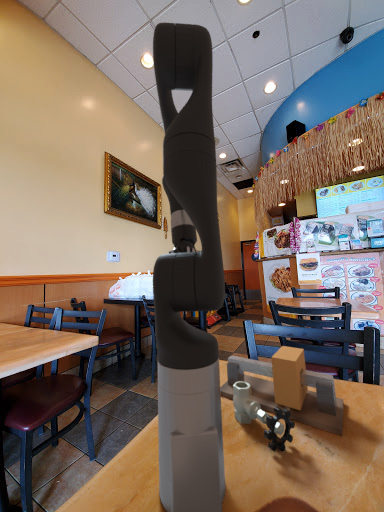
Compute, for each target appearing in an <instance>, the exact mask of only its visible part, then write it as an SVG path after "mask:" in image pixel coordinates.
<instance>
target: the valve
mask: <svg viewBox="0 0 384 512" xmlns="http://www.w3.org/2000/svg"><path fill="white" fill-rule="evenodd" d="M233 393H234V396H233V399H232V404H233V408H234V419H235V420H236V421H237V422H238V423H240V424H242V425H243V424H251V423H252V422H253V420H258V421H260V422H261V423H262V424H266V427H267V428H268V429H267V428H265V429H264V430H263V434H262V435H263V437H264V438H265V439H267V440H268V442H267V447H268V448H269V449H270V450H271V451H272V452H276V451H277V449H278V450H279V451H280V452H281V453H284V452H285V451H286V449H287V448H286V445H285V443H286V442H288V443H293V440H294V436H293V434H291V429H294V428H295V426H296V422H295V420H293V419H290V418H289V417H290V416H291V412H290V411H289V410H287V409H286V408H283V411H284V414H282V413H283V411H282V409H280V408H279V407H277V406H276V407H275V408H274V412H276V414H275V415H274V416H273V415H270V414H269V413H268V412H266V410H263V409H261V406H260V404H259V403H258V402H256V401H255V400H253V398H252V396H251V394H252V391H251V385H250V384H249V383H247V382H243V381H239V382H236V383H234V385H233ZM280 420H283V421H284V424H283V423H282V422H280ZM279 436H281V437H279ZM270 441H271V442H270Z"/></svg>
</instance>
